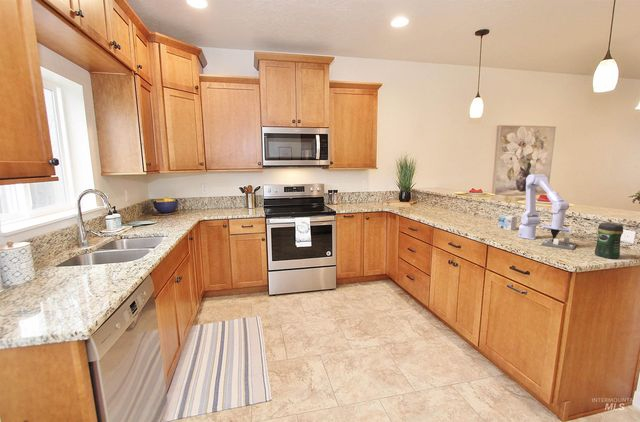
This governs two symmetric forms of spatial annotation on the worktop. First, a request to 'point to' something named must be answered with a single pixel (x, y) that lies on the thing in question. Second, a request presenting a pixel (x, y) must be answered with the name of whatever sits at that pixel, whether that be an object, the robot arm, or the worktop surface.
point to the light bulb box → (507, 222)
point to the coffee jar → (609, 240)
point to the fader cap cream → (556, 241)
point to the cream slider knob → (566, 240)
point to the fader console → (560, 245)
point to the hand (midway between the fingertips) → (554, 241)
